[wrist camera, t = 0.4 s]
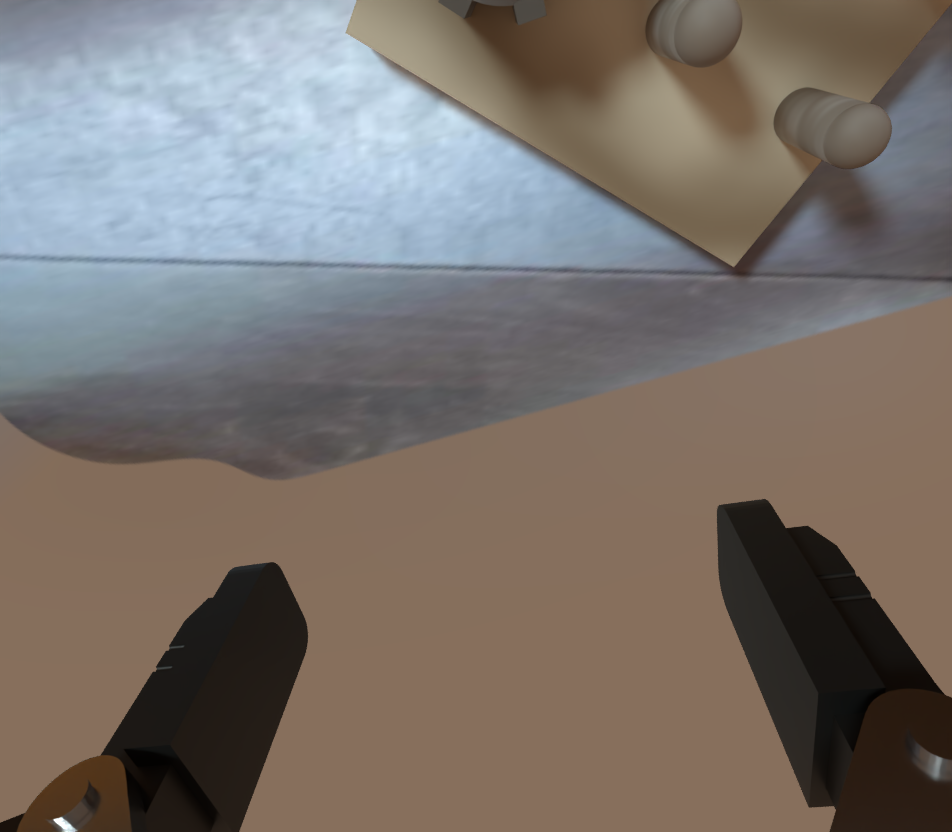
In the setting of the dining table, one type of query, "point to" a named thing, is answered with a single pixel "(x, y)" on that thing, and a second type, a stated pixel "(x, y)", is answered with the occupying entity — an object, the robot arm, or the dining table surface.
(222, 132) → the dining table surface
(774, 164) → the gear board
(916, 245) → the dining table surface
